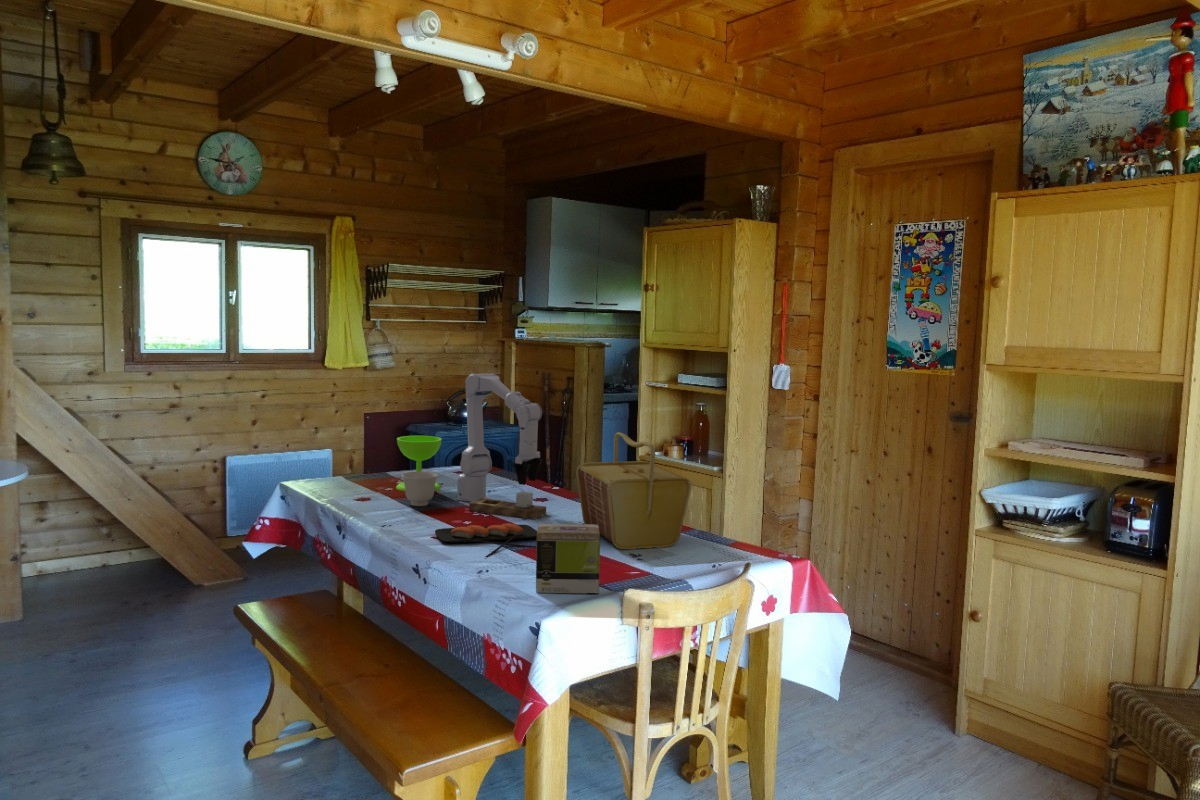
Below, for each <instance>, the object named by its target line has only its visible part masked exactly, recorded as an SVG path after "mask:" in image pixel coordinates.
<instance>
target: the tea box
mask: <svg viewBox="0 0 1200 800" xmlns="http://www.w3.org/2000/svg"><path fill="white" fill-rule="evenodd" d="M536 531H537V537H536V546H537V547H535V548H536V550H535V551H536V552H535V553H536V558H535V561H536V563H535V564H536V565H535V592H536V593H537V594H540V593H541V594H587V593H599V594H600V568H601V567H600V565H601V563H600V562H601V560H600V559H601V557H600V556H601V555H600V554H601V534H600V532H599V525H598V524H584V523H583V524H582V523H538V524H537V530H536Z"/></svg>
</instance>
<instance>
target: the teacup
mask: <svg viewBox="0 0 1200 800" xmlns="http://www.w3.org/2000/svg"><path fill="white" fill-rule="evenodd" d="M401 477H402V478H403V482H404V485H405V491H404V493H405V496H406V498H407V500H409V501H410V505H411V506H415V507H425V506H428V505H429V501H430V500H432V499H433V497H434V494H435V491H434V489H435V483H437V479H438V477H439V474H437V473H436V472H431V471H421V472H416V471H409V472H404V473H402V474H401Z"/></svg>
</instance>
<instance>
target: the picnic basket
mask: <svg viewBox="0 0 1200 800" xmlns="http://www.w3.org/2000/svg"><path fill="white" fill-rule="evenodd" d="M619 437H621V438H622V439H623V440H624V442H625V443H626V444H627V445H628V446H630V447H633V448H643V447H644V446H646V447H648V448H649V450H650V452H649V453H650V459H649V460H650V461H646V460H643V461H642V460H638V461H637V460H636V461H619V460H618V459H619V457H618V455H619V452H618V451H619ZM655 449H656V448H655V447H654V444H651V443H649V442H647V441H638V442H636V441H634V440H633V439H631V437H629V436H628V435H627V434H625V433H623V432H619V431H618V432H616V433H615V434H614V438H613V461H601V462H600V461H599V462H584V463H581V464H580V465H578V467H577V468H576V470H575V473H576V481H577V487H578V495H579V500H580V501H579V502H580V508H581V509H580V510H581V517H582V521H583V524H598V525H599V532H600V536H602V537H604V538H606V540H607V541H609V542H611V543H612V544H613V545H614V546H615V547H616V548H617V549H619V550H622V549H631V550H637V549H636V548H647V549H653V548H652V547H662V548H668V547H672V546H674V545H675V544H676V543H677V542H678V541H679V540H680V538H681V535H682V534H681V533H682V529H683V525H684V522H685V516H686V512H687V509H688V504H689V499H690V495H691V491H692V482H691V480H690V479H689V478H687V477H684V476H681V475H679V474H677V473H676V472H672V471H670V470H667V469H665V468H662V466H661V467H660V466H658V465H656V464H655V460H656V450H655Z"/></svg>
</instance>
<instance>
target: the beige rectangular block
mask: <svg viewBox="0 0 1200 800" xmlns="http://www.w3.org/2000/svg"><path fill="white" fill-rule="evenodd" d="M515 496H516V497H515V503H516V508H520V509H530V508H532V506H533V505H534V504H533V503H534V502H533V500H534V499H533V498H534V497H533V496H534V492H529V491H528V492H527V491H520V492H517V493H516V495H515Z"/></svg>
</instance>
